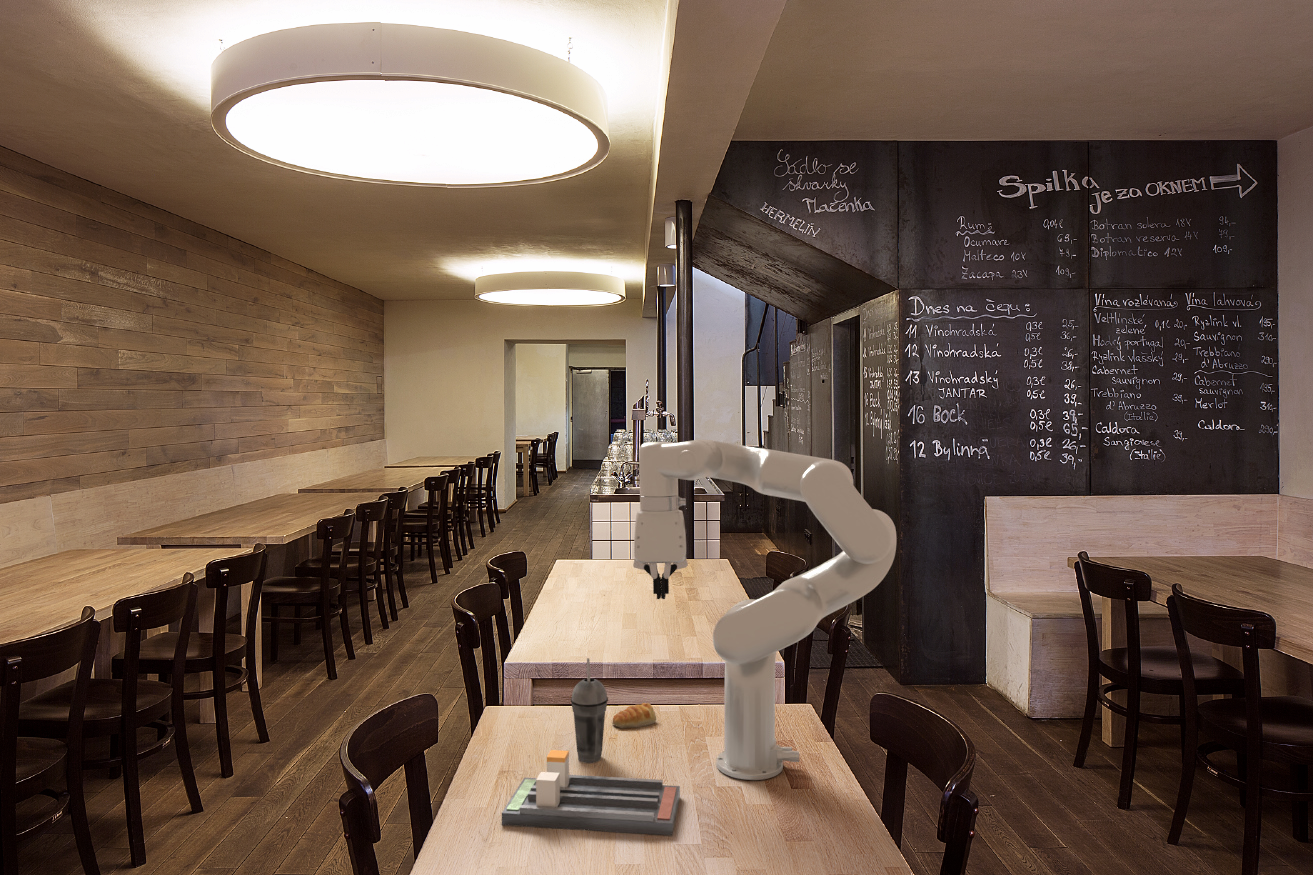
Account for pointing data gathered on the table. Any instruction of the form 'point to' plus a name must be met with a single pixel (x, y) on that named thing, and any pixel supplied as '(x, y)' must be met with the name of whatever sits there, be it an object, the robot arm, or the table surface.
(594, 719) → the beverage cup
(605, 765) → the table surface
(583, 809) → the gray rail tray
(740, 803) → the table surface
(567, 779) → the block
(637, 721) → the pastry
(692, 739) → the table surface
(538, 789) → the block
